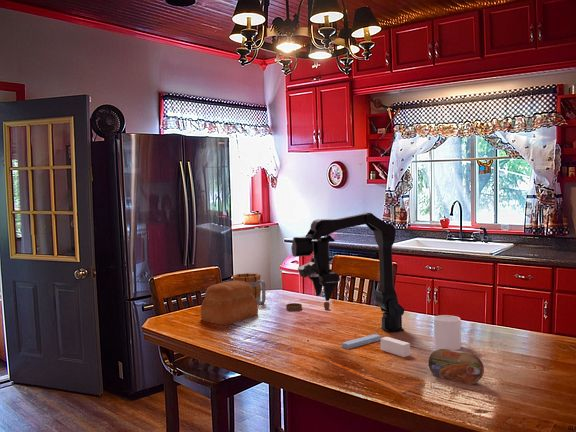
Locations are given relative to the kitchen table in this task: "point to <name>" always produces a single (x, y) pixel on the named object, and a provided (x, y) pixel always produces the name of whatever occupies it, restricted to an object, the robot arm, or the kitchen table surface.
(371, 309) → the kitchen table surface
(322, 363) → the kitchen table surface
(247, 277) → the mug
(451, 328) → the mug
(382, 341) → the fulcrum
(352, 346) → the bar
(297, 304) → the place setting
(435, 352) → the tin
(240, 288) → the bread
